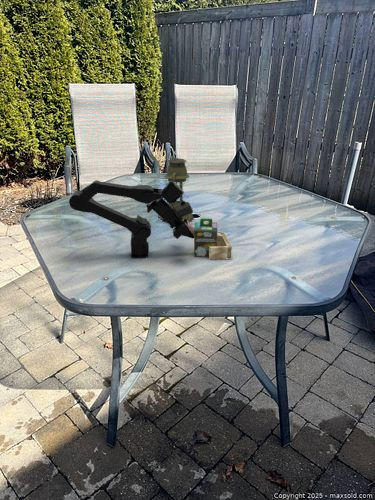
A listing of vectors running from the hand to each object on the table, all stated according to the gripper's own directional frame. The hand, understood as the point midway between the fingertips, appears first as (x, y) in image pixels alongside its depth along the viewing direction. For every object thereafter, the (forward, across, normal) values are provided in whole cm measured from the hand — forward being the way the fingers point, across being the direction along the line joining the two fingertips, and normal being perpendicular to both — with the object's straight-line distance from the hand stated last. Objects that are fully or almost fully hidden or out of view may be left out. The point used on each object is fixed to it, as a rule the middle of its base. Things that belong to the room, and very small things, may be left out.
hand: (193, 237), depth 150 cm
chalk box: (+8, 0, +2) cm, 8 cm away
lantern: (+2, +44, +8) cm, 45 cm away
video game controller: (+5, +24, +5) cm, 25 cm away
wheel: (+14, +14, -4) cm, 20 cm away
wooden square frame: (+12, 0, -2) cm, 12 cm away
